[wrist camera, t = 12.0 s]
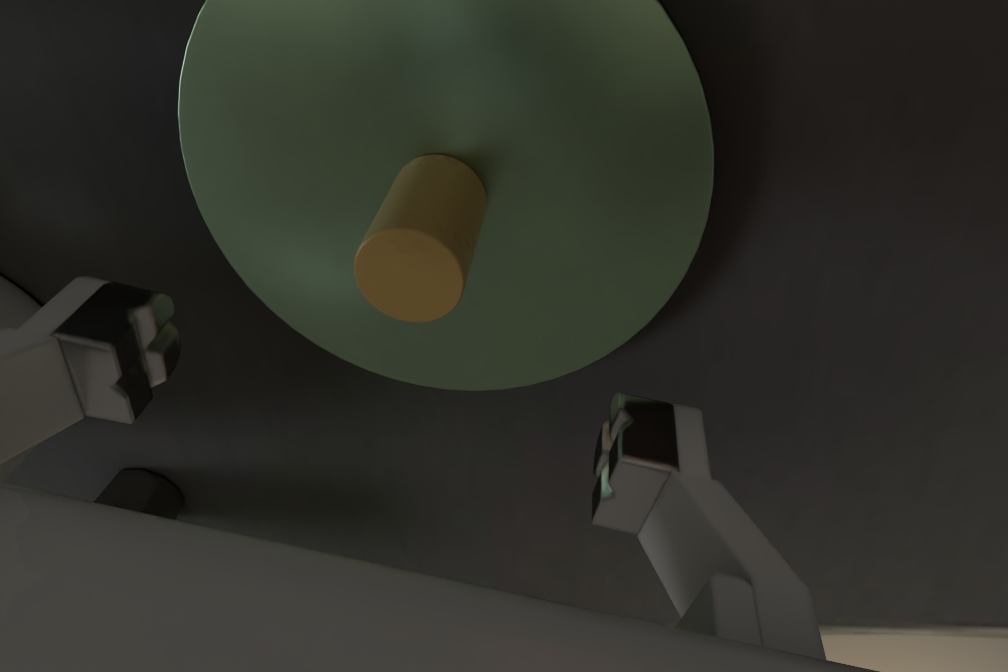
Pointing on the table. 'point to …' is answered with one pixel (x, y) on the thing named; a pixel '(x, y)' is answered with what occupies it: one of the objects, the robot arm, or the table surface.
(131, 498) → the milkshake
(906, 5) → the table surface
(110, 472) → the table surface
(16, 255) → the table surface
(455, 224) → the tin lid
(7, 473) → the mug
